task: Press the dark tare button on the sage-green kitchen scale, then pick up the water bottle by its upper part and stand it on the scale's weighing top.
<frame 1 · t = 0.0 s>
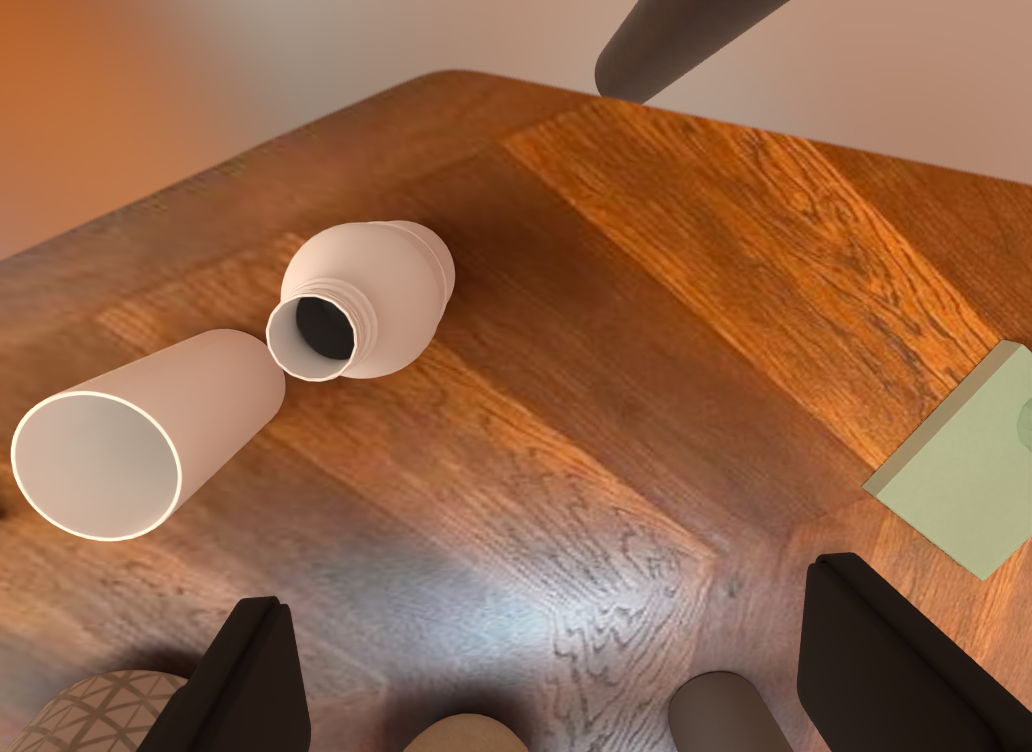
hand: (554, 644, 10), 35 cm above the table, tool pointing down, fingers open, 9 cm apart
scale: (983, 460, 50), on the table
cup: (231, 380, 45), on the table
mug: (717, 725, 56), on the table
planter: (167, 730, 53), on the table
vase: (464, 740, 55), on the table
water bottle: (408, 270, 43), on the table
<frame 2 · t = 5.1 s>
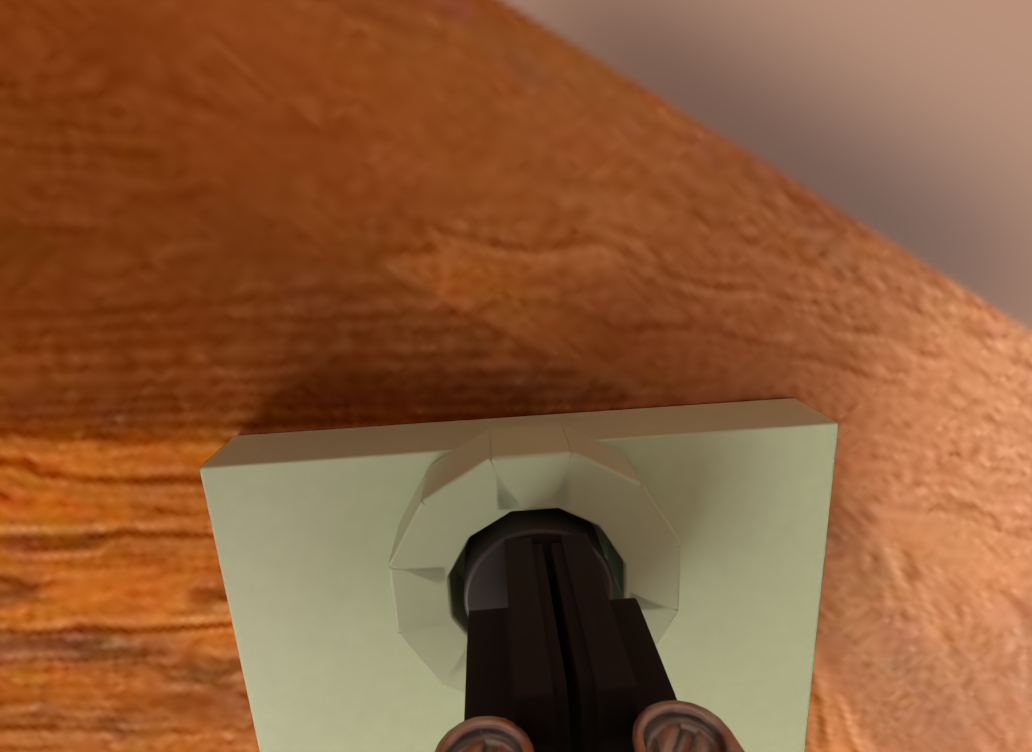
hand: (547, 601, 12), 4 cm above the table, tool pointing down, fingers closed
scale: (534, 680, 17), on the table
tare button: (535, 574, 12), point 3 cm above the table, slide at -0.8 cm, touching gripper
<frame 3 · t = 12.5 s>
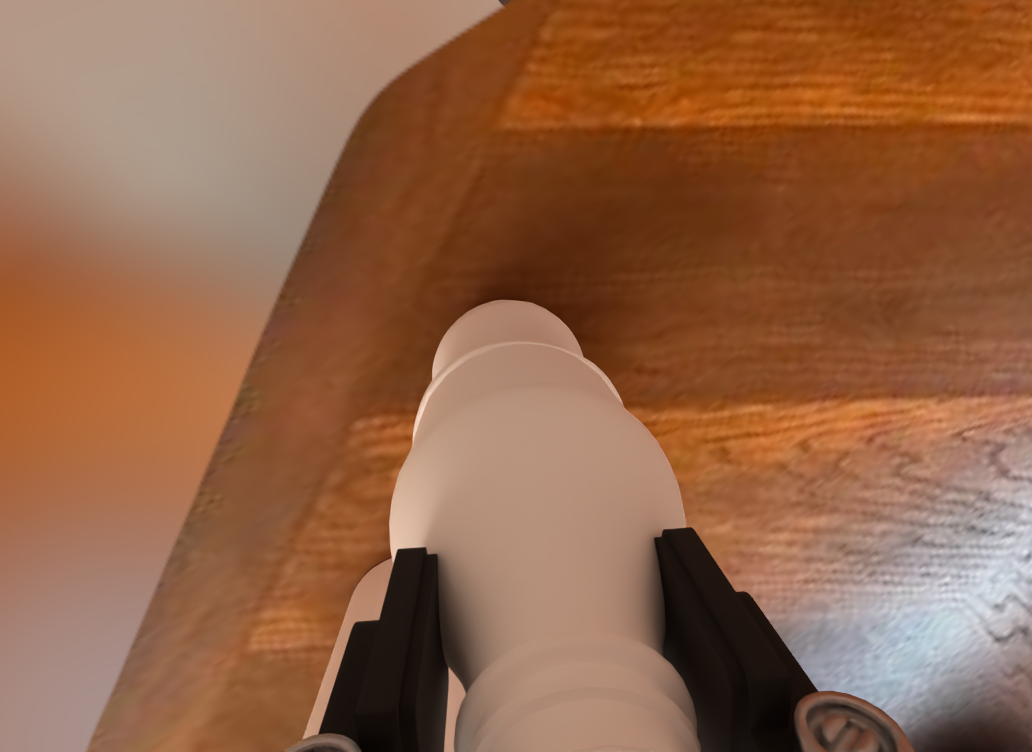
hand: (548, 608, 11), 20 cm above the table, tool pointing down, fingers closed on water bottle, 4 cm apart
cup: (420, 612, 34), on the table
water bottle: (506, 360, 31), on the table, touching gripper
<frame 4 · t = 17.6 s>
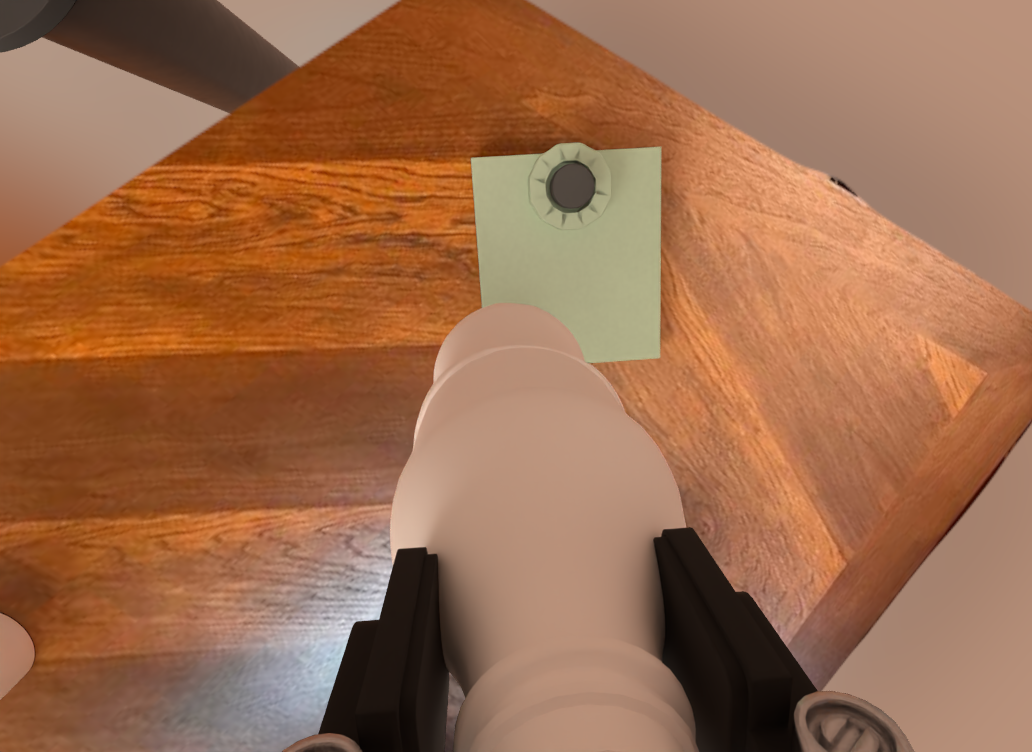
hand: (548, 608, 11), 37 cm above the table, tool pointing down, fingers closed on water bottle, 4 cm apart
scale: (567, 261, 47), on the table
tare button: (571, 186, 41), point 4 cm above the table, slide at 0.1 cm
water bottle: (507, 363, 31), point 17 cm above the table, touching gripper
when the fingers open (22 cm above the table, at t = 22.9 s): water bottle stays where it is, resting on scale.
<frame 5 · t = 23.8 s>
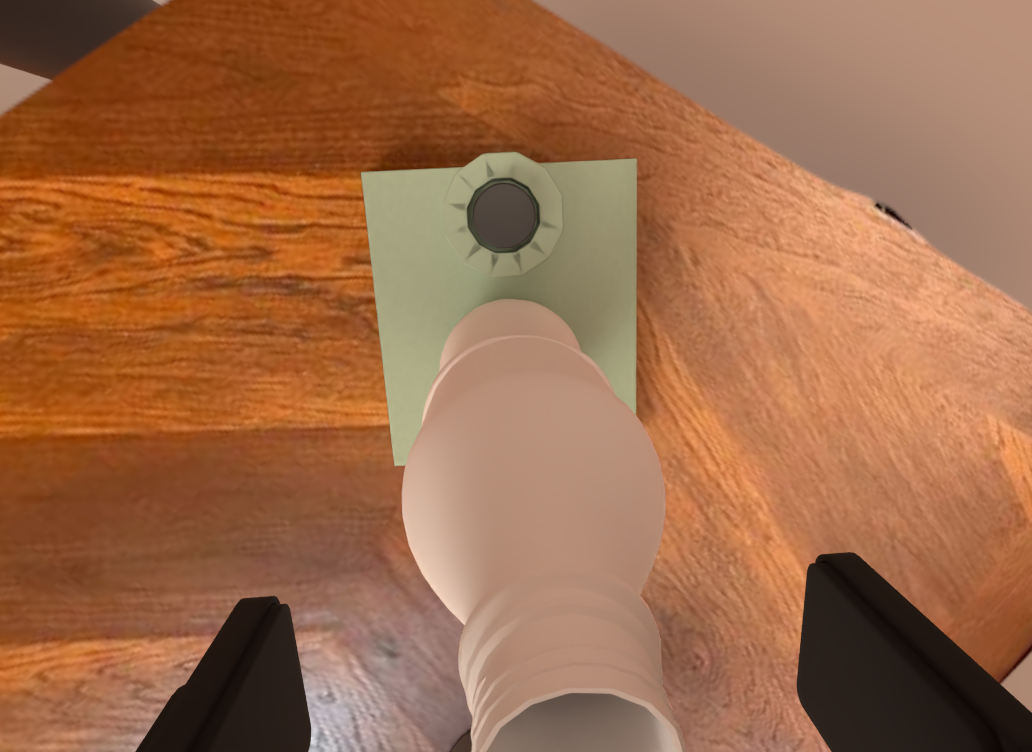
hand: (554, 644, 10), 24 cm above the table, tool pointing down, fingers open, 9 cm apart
scale: (507, 315, 33), on the table
tare button: (503, 216, 28), point 4 cm above the table, slide at 0.1 cm
water bottle: (509, 356, 32), point 2 cm above the table, touching scale
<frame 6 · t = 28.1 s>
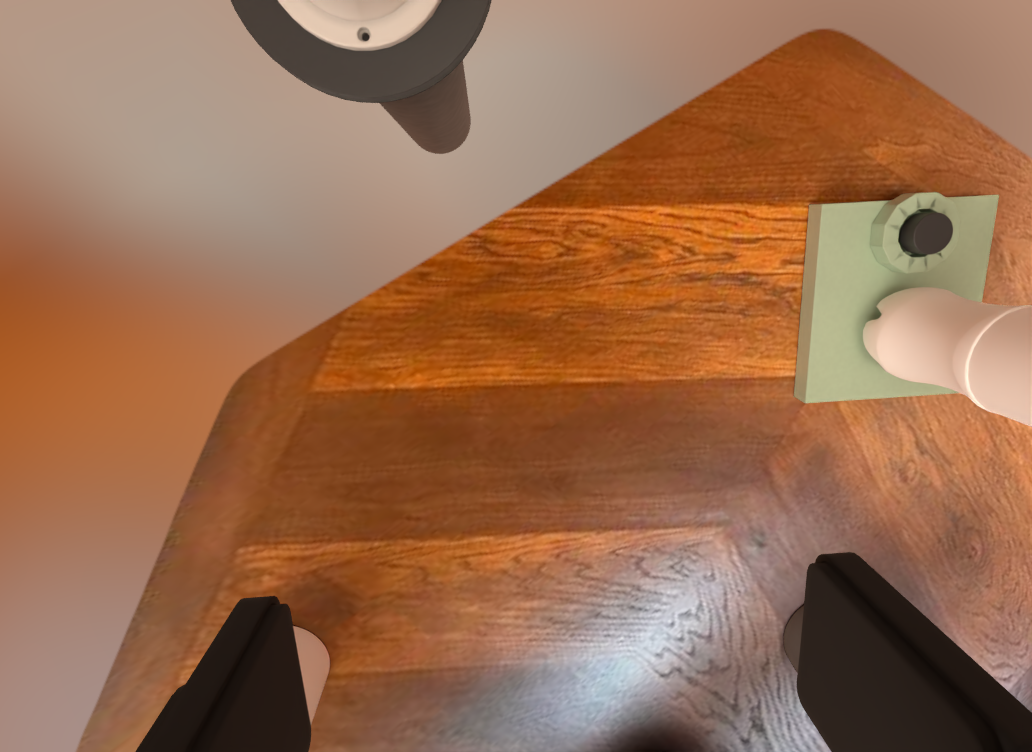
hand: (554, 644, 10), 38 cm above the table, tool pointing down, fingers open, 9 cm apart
scale: (882, 299, 49), on the table
cup: (286, 660, 55), on the table
tare button: (926, 233, 44), point 4 cm above the table, slide at 0.1 cm
mug: (841, 641, 58), on the table
water bottle: (893, 327, 48), point 2 cm above the table, touching scale
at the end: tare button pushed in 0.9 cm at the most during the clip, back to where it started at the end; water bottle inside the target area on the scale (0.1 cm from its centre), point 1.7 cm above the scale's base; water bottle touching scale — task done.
